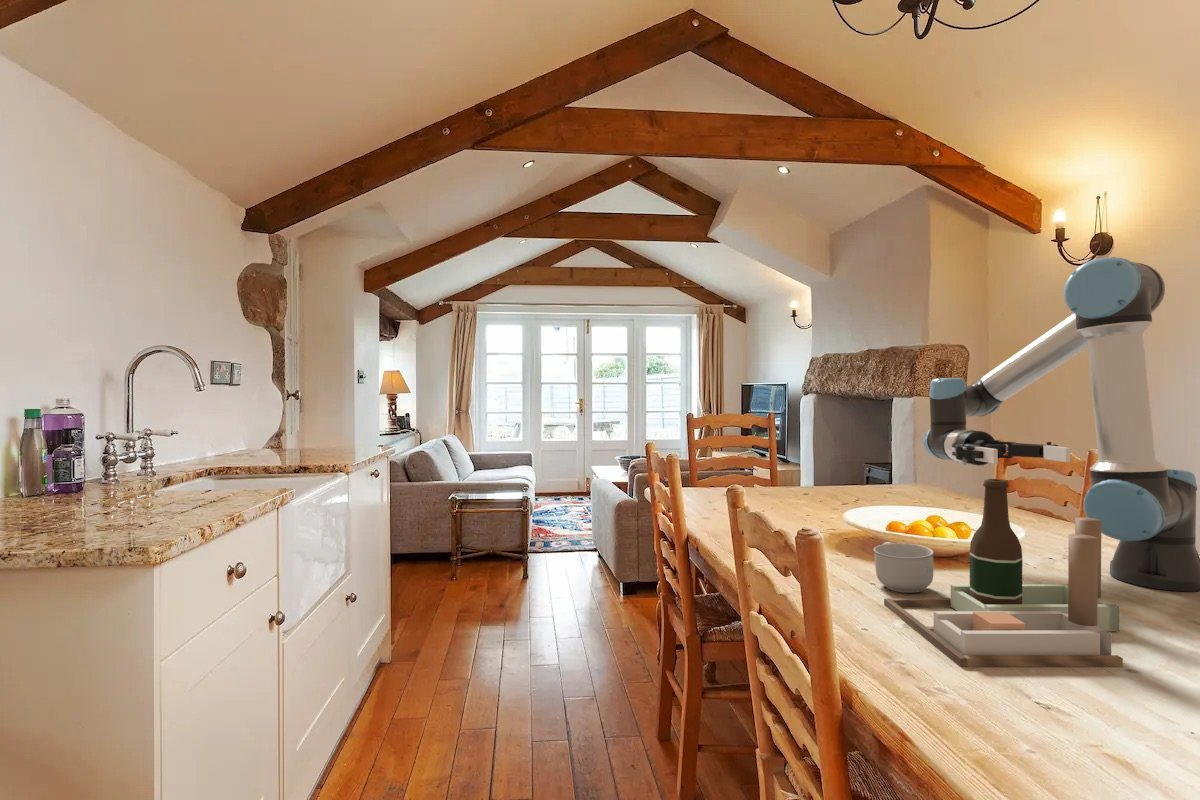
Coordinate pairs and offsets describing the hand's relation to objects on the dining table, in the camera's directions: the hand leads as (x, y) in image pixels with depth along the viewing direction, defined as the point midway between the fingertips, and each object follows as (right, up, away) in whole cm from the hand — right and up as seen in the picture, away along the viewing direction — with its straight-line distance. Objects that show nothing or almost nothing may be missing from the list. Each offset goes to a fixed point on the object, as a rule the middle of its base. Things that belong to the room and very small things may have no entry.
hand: (1031, 455), depth 124 cm
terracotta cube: (-21, -28, -24) cm, 42 cm away
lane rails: (-18, -27, -17) cm, 37 cm away
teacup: (-22, -27, +7) cm, 35 cm away
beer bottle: (-14, -27, -11) cm, 33 cm away
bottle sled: (-8, -27, -12) cm, 31 cm away
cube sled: (-18, -27, -24) cm, 41 cm away
